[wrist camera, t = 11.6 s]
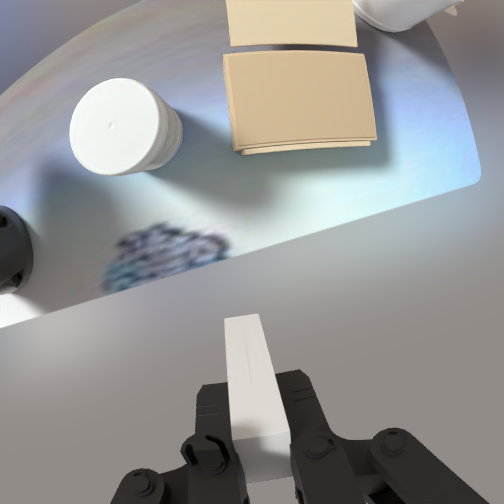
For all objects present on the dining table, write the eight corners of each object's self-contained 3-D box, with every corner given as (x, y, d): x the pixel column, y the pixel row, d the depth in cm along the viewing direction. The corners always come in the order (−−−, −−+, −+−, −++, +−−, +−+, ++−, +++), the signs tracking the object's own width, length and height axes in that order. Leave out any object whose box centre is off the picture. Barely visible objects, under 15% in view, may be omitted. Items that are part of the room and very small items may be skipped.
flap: (231, 46, 28) (222, -35, 22) (230, 47, 29) (222, -32, 23) (357, 46, 29) (347, -29, 23) (354, 47, 30) (344, -27, 24)
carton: (233, 156, 39) (236, 155, 33) (222, 68, 35) (223, 53, 29) (357, 146, 40) (378, 145, 34) (346, 65, 36) (364, 53, 30)
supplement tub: (167, 91, 35) (140, 56, 21) (195, 149, 38) (182, 142, 24) (106, 125, 35) (55, 112, 21) (133, 183, 38) (91, 196, 24)
